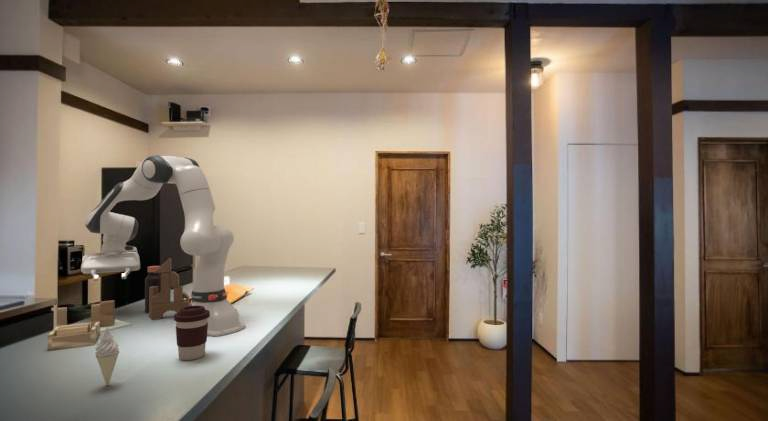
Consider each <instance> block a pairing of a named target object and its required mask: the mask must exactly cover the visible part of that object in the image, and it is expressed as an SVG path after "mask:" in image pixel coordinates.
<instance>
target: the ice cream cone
mask: <svg viewBox="0 0 768 421" xmlns="http://www.w3.org/2000/svg"><path fill="white" fill-rule="evenodd" d="M100 340H101V341H100V342H99V343H98V344H97V345H96V346H97V347H95V349H94V350H95V351H96V352H95V358H96V360H97V363H98V365H99V369H100V371H101V374H102V376H103V380H104V383H105V386H107V385H108V386H109V385H110V382H111V378H112V376H113V373H114V372H113V371H114V369H115V366H116V362H117V360H118V356H119V354H120V349H119V346H120V345H119V344H118V342H117V341H115V339H114V335H112V333H111V330H109V329H108V327H107V328H106V331H104V333H103V335H102V337H101V338H100Z"/></svg>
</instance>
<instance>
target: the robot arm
mask: <svg viewBox="0 0 768 421" xmlns="http://www.w3.org/2000/svg"><path fill="white" fill-rule="evenodd" d="M163 184H172V185H173V184H174V185H176V188H177V190H178V191H177V192H178V195H179V197H180V203H181V205H182V210H183V213H184V230H183V233H182V235H181V237H180V242H179V243H180V244H179V245H180V247H181V250H182V251H183V252H184V253H186V254H188V255H190V256H195V257H196V256H197V257H199V258H198V262H197V263H196V264H195V267H194V268H193V271H192V290H191V294H190V296H191V301H192V302H191V305H190V306H195V305H199V306H204V308H205V310H209V311H210V316H209V317H208V319H207V322H208V329H207V336H209V337H219V336H225V335H229V334H232V333H236V332H239V331H241V330H243V329H245V328H246V327H247V326H246V323H243V322H241V321H240V315H239V311H238V309H237V308H235V307H234V306H233V304H232V303H231V302H230V301H229V300H228V294H229V292H228V291H226V288H225V267H226V263H227V258H228V253H229V250H230V248H231V247H232V245H233V243H234V238H235V237H234V233H233V232H232V231H231V229H230V228H228V227H225V226H222V225H214V220H213V219H214V218H213V216H214V212H215V210H216V206H215V203H214V198H213V195H212V192H211V189H210V185H209V183H208V180H207V177H206V175H205V174H204V172H203V170H202V168H201V167H200V164H199V163H198V161H196V159H195V160H194V159H192V158H189V157H181V156H174V155H159V154H158V155H151V156H147V157H145V158H144V159H143V160H142V161H141V162H140V164H138V166H137V167H136V169H135V170H134V172H133V174H132V175H131V177H130V178H129V179H127V180H125V181H122V182H117V184H115V185H114V186H113V187H112V188H111V190H110V191H109V192H108V193H107V194H106V195H105V196H104V198H102V200H101V201H100V202H99V203H98V205H97V206H96V207H95V208H94V209H93V210H92V211H91V212H89V214H88V215H87V217H86V219H85V224H84V225H85V227H86V229H87V230H88V231H89V232H90V233H91V234H99V235H100V234H102V235H103V236H102V242H103V243H102V245H101V249H100V252H99V253H98V252H96V253H87V254H84V255H83V256H82V259H81V261H82V262H81V265H80V271H81V272H82V274H83V275H88V274H91V276H92V277H93V281H94V282H98V281H99V279H100V276H99V275H98V274H103V273H104V274H105V273H118V272H120V273H121V272H124V273H121V280H127V276H128V275H129V274H130V273H131V272H134V271H139V270H141V261H140V255H139V253H138V249H137V247H136V246H132V245H127V242H130V241H132V240H133V239H135V237H136V236H137V234H138V230H139V222H138V220H137V219H136V218H135V217H133V216H130V215H125V214H121V213H115V212H111V210H112V209H113V208H114V207H115V206H116V204H117V203H120V202H124V201H145V200H146V201H147V200H150V199H152V198H154V197H155V196H157V194H158V193H159V191H160V190H161V188H162V186H163Z"/></svg>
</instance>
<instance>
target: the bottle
mask: <svg viewBox="0 0 768 421" xmlns="http://www.w3.org/2000/svg"><path fill="white" fill-rule="evenodd" d="M160 266H161V265H151V266H147V274H148V275H147V276H145V278H144V313H147V314H149V287H151V286H158V294H159V293H160V291H161V273H154V272H155V271H156V270H157V269H158V268H159V267H160Z"/></svg>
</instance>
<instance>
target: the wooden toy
mask: <svg viewBox="0 0 768 421" xmlns="http://www.w3.org/2000/svg"><path fill="white" fill-rule="evenodd" d="M159 266H160V267H159V268H158V269H157V270H156V271H155V272H154V273H159V274H160V275H161V291H160V293H159V294H158V286H151V287H149V313H148V316H149V318H151V320H162V319H163V316H164V314H165V313H167V312H171V311H174V312H175V313H178V312H179V310H180V309H181V308H183V307H187V306H191V305H190V302H191V301H190V296H189V295H188V293H187V292H184V286H183V285H180V275H179V273H177V272H175V271H172V258H171V257H169V258H168V259H166V261H165V262H164V263H163V264H161V265H159ZM171 289H173V300H172V299H171V294H172V292H171V291H172V290H171ZM185 299H186V300H185ZM171 300H172V301H171Z"/></svg>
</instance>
